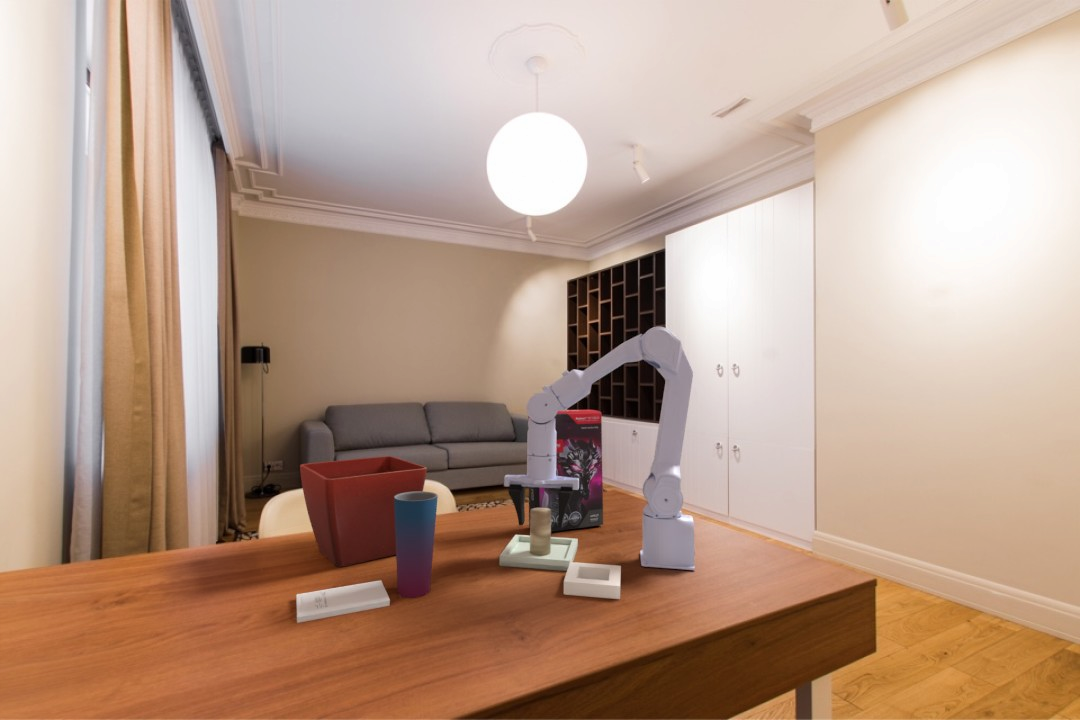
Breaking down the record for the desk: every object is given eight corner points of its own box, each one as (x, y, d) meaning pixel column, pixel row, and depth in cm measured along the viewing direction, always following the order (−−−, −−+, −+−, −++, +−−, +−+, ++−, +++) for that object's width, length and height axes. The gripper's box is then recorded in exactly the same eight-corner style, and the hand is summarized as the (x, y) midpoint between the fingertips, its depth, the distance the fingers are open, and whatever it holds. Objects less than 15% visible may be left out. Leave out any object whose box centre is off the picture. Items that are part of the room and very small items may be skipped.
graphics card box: (537, 535, 108) (539, 411, 110) (525, 527, 114) (527, 409, 116) (604, 527, 115) (604, 410, 117) (589, 519, 122) (589, 409, 123)
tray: (577, 547, 100) (577, 538, 100) (570, 571, 87) (570, 560, 88) (515, 543, 103) (515, 534, 103) (499, 565, 90) (499, 555, 90)
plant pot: (322, 579, 83) (326, 478, 84) (295, 548, 98) (298, 463, 99) (427, 555, 95) (429, 467, 96) (388, 531, 110) (390, 455, 111)
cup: (424, 602, 74) (426, 501, 75) (383, 598, 76) (386, 499, 76) (442, 584, 81) (444, 492, 82) (404, 580, 82) (406, 490, 83)
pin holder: (620, 577, 85) (620, 565, 85) (619, 599, 76) (619, 586, 76) (570, 573, 86) (570, 561, 86) (563, 594, 78) (563, 581, 78)
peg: (551, 549, 97) (551, 508, 97) (549, 556, 93) (549, 513, 93) (531, 548, 97) (531, 507, 98) (528, 555, 93) (529, 512, 94)
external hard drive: (389, 610, 73) (296, 627, 68) (380, 589, 80) (295, 603, 75) (389, 598, 73) (297, 615, 68) (380, 579, 81) (296, 592, 75)
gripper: (500, 455, 93) (499, 528, 93) (576, 458, 91) (576, 533, 90) (509, 451, 100) (508, 518, 100) (580, 453, 98) (579, 523, 97)
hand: (540, 525), depth 95 cm, fingers open, 7 cm apart
